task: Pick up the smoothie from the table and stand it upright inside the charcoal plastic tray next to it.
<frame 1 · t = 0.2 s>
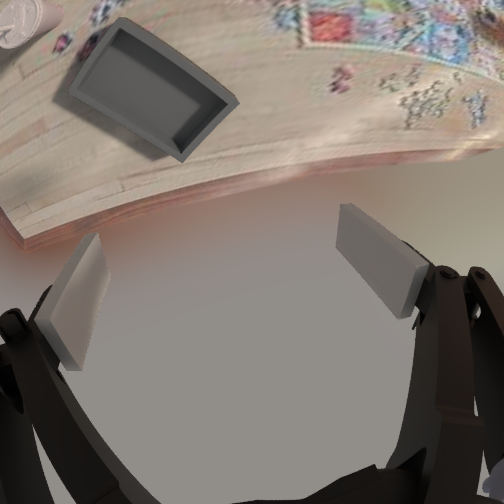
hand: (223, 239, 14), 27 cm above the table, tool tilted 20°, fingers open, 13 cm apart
smoothie: (52, 17, 17), on the table
tray: (154, 85, 30), on the table
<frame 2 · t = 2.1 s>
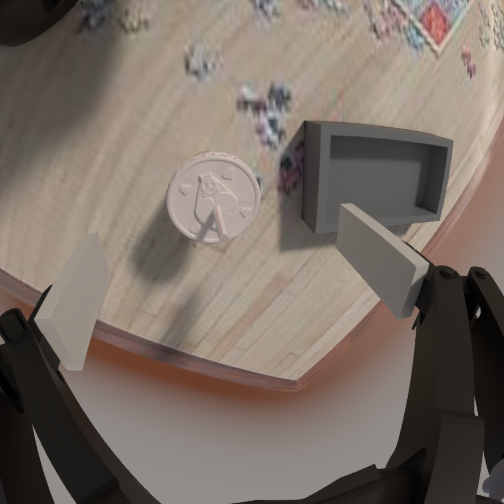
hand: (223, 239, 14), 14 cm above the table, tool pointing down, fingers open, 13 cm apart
smoothie: (206, 168, 26), on the table
tray: (375, 170, 30), on the table
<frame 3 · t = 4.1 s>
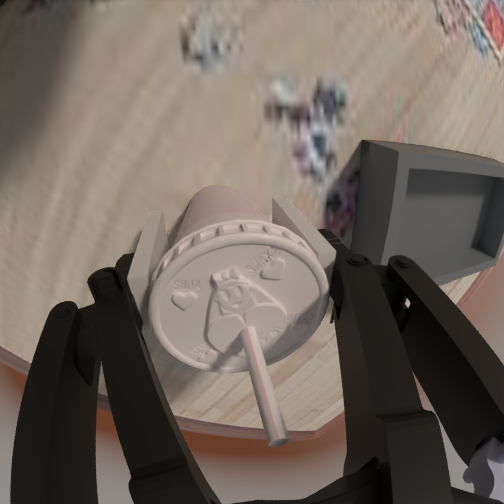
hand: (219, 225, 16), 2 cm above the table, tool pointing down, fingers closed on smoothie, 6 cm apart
smoothie: (216, 211, 18), on the table, touching gripper
tray: (438, 207, 21), on the table
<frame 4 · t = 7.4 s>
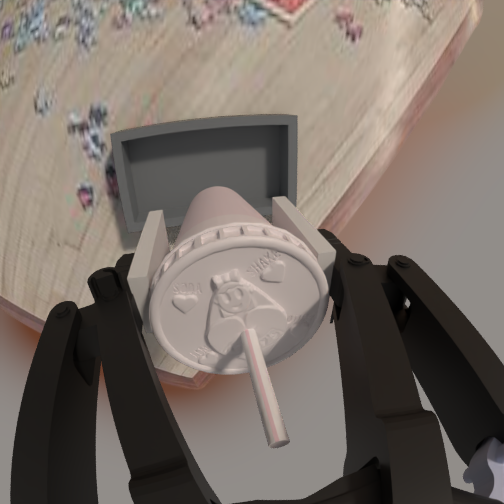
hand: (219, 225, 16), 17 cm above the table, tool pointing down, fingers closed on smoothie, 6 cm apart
smoothie: (216, 213, 18), point 15 cm above the table, touching gripper
tray: (206, 164, 31), on the table
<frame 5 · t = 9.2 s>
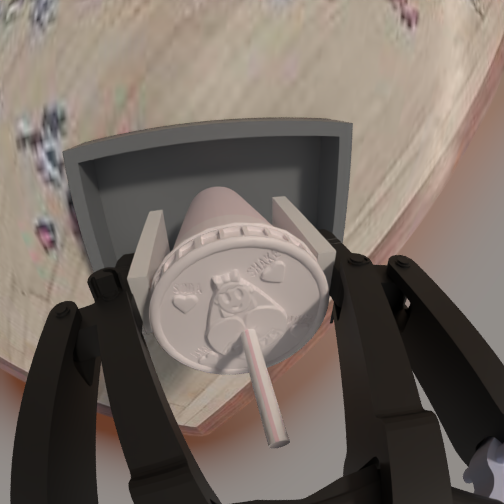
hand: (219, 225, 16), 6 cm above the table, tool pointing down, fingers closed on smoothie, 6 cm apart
smoothie: (216, 213, 18), point 4 cm above the table, touching gripper
tray: (211, 191, 21), on the table
when the fingers open (4 cm above the table, at t = 10.5 s): smoothie drops 1 cm, resting on tray.
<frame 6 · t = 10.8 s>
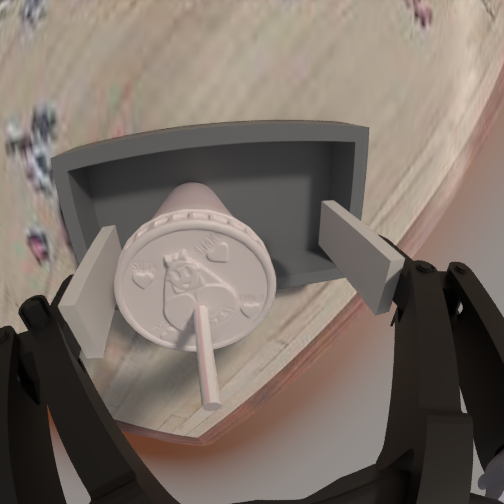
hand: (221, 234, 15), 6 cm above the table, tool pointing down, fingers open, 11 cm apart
smoothie: (191, 207, 19), point 1 cm above the table, touching tray
tray: (214, 200, 20), on the table
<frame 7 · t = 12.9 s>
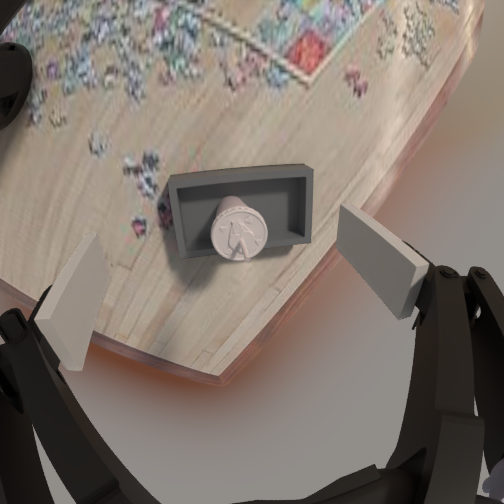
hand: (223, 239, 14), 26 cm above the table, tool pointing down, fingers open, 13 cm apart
smoothie: (230, 207, 39), point 1 cm above the table, touching tray
tray: (240, 204, 40), on the table
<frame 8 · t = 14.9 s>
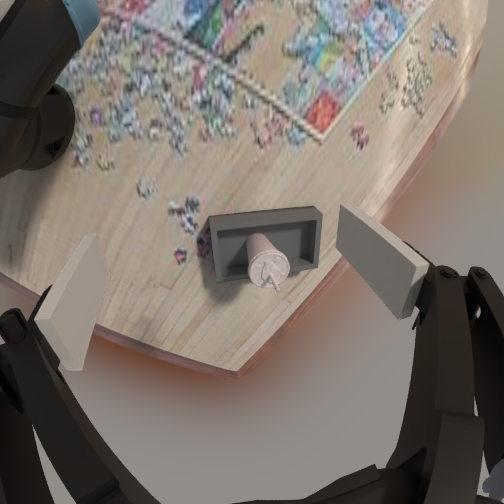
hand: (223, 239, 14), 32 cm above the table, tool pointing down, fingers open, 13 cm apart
smoothie: (256, 241, 50), point 1 cm above the table, touching tray
tray: (263, 238, 51), on the table
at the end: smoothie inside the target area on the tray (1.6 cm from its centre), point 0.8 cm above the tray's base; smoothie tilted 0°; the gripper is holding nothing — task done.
